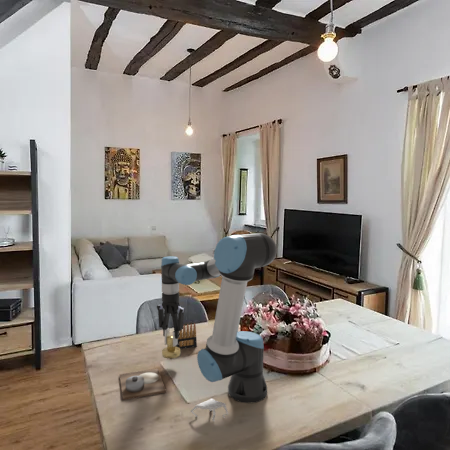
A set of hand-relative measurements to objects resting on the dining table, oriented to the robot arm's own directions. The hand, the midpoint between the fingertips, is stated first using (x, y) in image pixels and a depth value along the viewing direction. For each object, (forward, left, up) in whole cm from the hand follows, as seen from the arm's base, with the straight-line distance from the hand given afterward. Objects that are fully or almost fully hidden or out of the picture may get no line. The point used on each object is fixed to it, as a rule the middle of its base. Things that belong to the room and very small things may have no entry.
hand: (171, 344), depth 159 cm
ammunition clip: (+17, -11, -10) cm, 23 cm away
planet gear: (0, 0, -5) cm, 5 cm away
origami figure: (-39, -5, -11) cm, 41 cm away
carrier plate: (-11, +14, -10) cm, 20 cm away
